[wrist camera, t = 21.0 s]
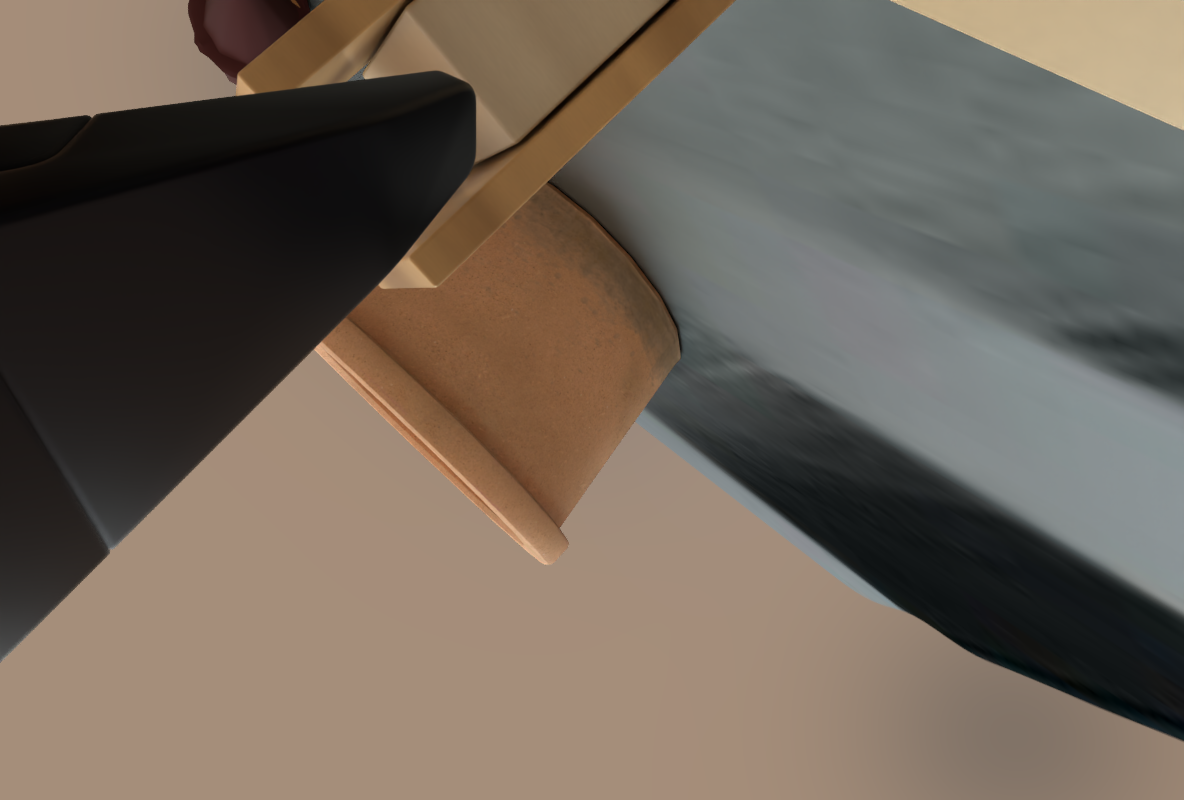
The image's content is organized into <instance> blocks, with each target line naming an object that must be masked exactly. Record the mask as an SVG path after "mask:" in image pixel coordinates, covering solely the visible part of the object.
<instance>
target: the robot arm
mask: <svg viewBox="0 0 1184 800" xmlns="http://www.w3.org/2000/svg"><path fill="white" fill-rule="evenodd" d="M475 158H476V95H475V92H474V89H473V88H472V86H471V85H470V84H469V83H467V82H465V81H463V80H461V79H458V78H456V77H454V76H452V75H450V74H447V73H445V72H442V71H437V70H435V71H426V72H418V73H410V74H403V75H395V76H387V77H379V78H372V79H364V80H356V81H348V82H341V83H333V84H325V85H317V86H310V87H302V88H294V89H286V90H279V91H271V92H263V93H255V94H248V95H240V96H232V97H225V98H217V99H209V100H202V101H193V102H186V103H178V104H170V105H162V106H155V107H148V108H139V109H132V110H124V111H116V112H108V113H100V114H96V115H95V116H94V117H93V118H91V117H90V116H87V115H84V116H76V117H68V118H61V119H54V120H45V121H36V122H27V123H18V124H10V125H1V126H0V662H1V661H2V660H4V659H5V657H6V656H8V654H10V653H11V652H12V651H13V650H14V648H16V647H17V646H18V645H19V644H20V643H21V642H22V641H23V639H24V638H26V636H28V635H29V634H30V633H31V631H33V630H34V629H35V628H36V627H37V626H38V624H40V623H41V622H42V621H43V620H44V619H45V618H46V617H47V616H48V615H49V614H50V612H52V610H53V609H55V608H56V607H57V606H58V605H59V603H61V601H63V599H65V598H66V597H67V596H68V595H69V594H70V593H71V592H72V591H73V590H74V589H75V588H76V587H77V586H78V584H80V583H81V582H82V581H83V580H84V579H85V578H86V577H87V576H88V575H89V574H90V573H91V572H92V571H93V570H94V569H95V568H96V567H97V565H99V564H100V563H101V562H102V561H103V560H104V559H105V558H106V557H107V556H108V555H109V553H110V549H114V548H115V547H116V546H117V545H118V544H119V543H120V542H121V541H122V540H123V539H124V538H125V537H126V536H127V535H128V534H129V533H130V532H131V531H132V530H133V529H134V528H135V527H136V526H137V525H138V524H139V523H140V522H141V521H142V520H143V519H144V518H145V517H146V516H147V515H148V514H149V513H150V512H151V511H152V510H153V509H154V508H155V507H156V506H157V505H158V504H159V503H160V502H161V501H162V500H163V499H164V498H165V497H166V496H167V495H168V494H169V493H170V492H171V491H172V490H173V489H174V488H175V487H176V486H177V485H178V484H179V483H180V482H181V481H182V480H183V479H184V478H185V477H186V476H187V475H188V474H189V473H190V472H191V471H192V470H193V469H194V468H195V467H196V466H197V465H198V464H199V463H200V462H201V461H202V460H203V459H204V458H205V457H206V456H207V455H208V454H209V453H210V452H211V451H212V450H213V449H214V448H215V447H216V446H217V445H218V444H219V443H220V442H221V441H222V440H223V439H224V438H225V437H226V436H227V435H228V434H229V433H230V432H231V431H232V430H233V429H234V428H235V427H236V426H237V425H238V424H239V423H240V422H241V421H242V420H243V419H244V418H245V417H246V416H247V415H248V414H249V413H250V412H251V411H252V410H253V409H254V408H255V407H256V406H257V405H258V404H259V403H260V402H261V401H262V400H263V399H264V398H265V397H266V396H267V395H269V393H271V392H272V391H273V389H274V388H276V386H278V384H279V383H280V382H281V381H283V380H284V379H285V378H286V377H287V376H288V375H289V374H290V372H291V371H293V370H294V369H295V367H297V366H298V365H299V364H300V363H301V362H302V361H303V359H305V358H306V357H307V356H308V354H310V353H311V351H312V350H314V349H315V348H316V347H317V346H318V345H319V344H320V343H321V342H322V341H323V340H324V339H325V338H326V337H327V336H328V335H329V334H330V333H331V332H332V331H333V330H334V329H335V328H336V327H337V326H338V325H339V324H340V323H341V322H342V321H343V320H344V319H345V318H346V317H347V316H348V315H349V314H350V313H351V312H352V311H353V310H354V309H355V308H356V307H357V306H358V305H359V304H360V303H361V302H362V301H363V300H364V299H365V298H366V297H367V296H368V295H369V294H370V293H371V292H372V291H373V290H374V289H375V288H376V287H377V286H378V285H379V284H380V283H381V282H382V281H383V279H384V278H385V277H386V276H387V275H388V274H389V273H390V272H391V271H392V270H393V269H394V267H395V266H396V265H397V264H398V263H399V262H400V260H401V259H402V258H403V257H404V256H405V255H406V253H407V252H408V251H409V250H410V248H411V247H412V246H413V245H414V243H415V242H416V241H417V240H418V238H419V237H420V236H421V235H422V233H423V232H424V231H425V230H426V228H427V227H428V226H429V224H430V223H431V222H432V221H433V219H434V218H435V217H436V216H437V214H438V213H439V212H440V211H441V209H442V208H443V207H444V206H445V204H446V203H447V202H448V201H449V199H450V198H451V197H452V196H453V194H454V193H455V192H456V191H457V189H458V188H459V187H460V186H461V184H462V183H463V182H464V181H465V179H466V178H467V177H468V175H469V174H470V172H471V170H472V168H473V165H474V162H475Z"/></svg>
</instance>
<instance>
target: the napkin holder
mask: <svg viewBox="0 0 1184 800" xmlns="http://www.w3.org/2000/svg"><path fill="white" fill-rule="evenodd" d="M735 1H736V0H324V1H323V2H322V3H321V4H319V5H318V6H317V7H316V8H315V9H313V10H312V11H311V12H310V13H309V14H308V15H306V16H305V17H304V18H303V19H302V20H300V21H299V22H298V23H297V24H296V25H294V26H293V27H292V28H291V29H290V30H288V31H287V32H286V33H285V34H284V35H283V36H281V37H280V38H279V39H278V40H277V41H275V42H274V43H273V44H272V45H271V46H269V47H268V48H267V49H266V50H265V51H263V52H262V53H261V54H260V55H259V56H257V57H256V58H255V59H254V60H253V61H252V62H250V63H249V64H248V65H247V66H246V67H244V68H243V69H242V70H241V71H240V72H239V73H238V75H237V87H236V88H237V89H236V96H240V95H248V94H255V93H263V92H271V91H279V90H286V89H294V88H302V87H310V86H317V85H325V84H333V83H341V82H347V81H348V80H349V79H350V78H351V77H352V76H354V75H355V74H356V73H357V72H358V71H359V70H360V69H362V68H363V67H364V66H365V65H366V64H367V63H369V64H368V66H367V67H366V69H365V70H364V72H363V76H364V78H365V79H372V78H379V77H387V76H395V75H403V74H410V73H418V72H426V71H435V70H437V71H442V72H445V73H447V74H450V75H452V76H454V77H456V78H458V79H461V80H463V81H465V82H467V83H469V84H470V85H471V86H472V88H473V89H474V92H475V95H476V158H475V162H474V165H473V168H472V170H471V172H470V174H469V175H468V177H467V178H466V179H465V181H464V182H463V183H462V184H461V186H460V187H459V188H458V189H457V191H456V192H455V193H454V194H453V196H452V197H451V198H450V199H449V201H448V202H447V203H446V204H445V206H444V207H443V208H442V209H441V211H440V212H439V213H438V214H437V216H436V217H435V218H434V219H433V221H432V222H431V223H430V224H429V226H428V227H427V228H426V230H425V231H424V232H423V233H422V235H421V236H420V237H419V238H418V240H417V241H416V242H415V243H414V245H413V246H412V247H411V248H410V250H409V251H408V252H407V253H406V255H405V256H404V257H403V258H402V259H401V260H400V262H399V263H398V264H397V265H396V266H395V267H394V269H393V270H392V271H391V272H390V273H389V274H388V275H387V276H386V277H385V278H384V279H383V281H382V282H381V283H380V284H379V286H380V287H381V288H383V289H398V288H435V287H438V286H440V285H441V284H442V283H443V282H444V281H445V280H446V279H447V278H448V277H449V276H450V275H451V274H452V273H453V272H454V271H455V270H456V269H457V268H458V267H459V266H460V265H461V264H462V263H463V262H465V261H466V260H467V259H468V258H469V257H470V256H471V255H472V254H473V253H474V252H475V251H476V250H477V249H478V248H479V247H480V246H481V245H482V244H483V243H484V242H485V241H486V240H487V239H488V238H489V237H490V236H492V235H493V234H494V233H495V232H496V231H497V230H498V229H499V228H500V227H501V226H502V225H503V224H504V223H505V222H506V221H507V220H508V219H509V218H510V217H511V216H512V215H513V214H514V213H515V212H516V211H517V210H519V209H520V208H521V207H522V206H523V205H524V204H525V203H526V202H527V201H528V200H529V199H530V198H531V197H532V196H533V195H534V194H535V193H536V192H537V191H538V190H539V189H540V188H541V187H542V186H543V185H544V184H546V183H547V182H548V181H549V180H550V179H551V178H552V177H553V176H554V175H555V174H556V173H557V172H558V171H559V170H560V169H561V168H562V167H563V166H564V165H565V164H566V163H567V162H568V161H569V160H570V159H571V158H573V157H574V156H575V155H576V154H577V153H578V152H579V151H580V150H581V149H582V148H583V147H584V146H585V145H586V144H587V143H588V142H589V141H590V140H591V139H592V138H593V137H594V136H595V135H596V134H597V133H598V132H600V131H601V130H602V129H603V128H604V127H605V126H606V125H607V124H608V123H609V122H610V121H611V120H612V119H613V118H614V117H615V116H616V115H617V114H618V113H619V112H620V111H621V110H622V109H623V108H624V107H625V106H627V105H628V104H629V103H630V102H631V101H632V100H633V99H634V98H635V97H636V96H637V95H638V94H639V93H640V92H641V91H642V90H643V89H644V88H645V87H646V86H647V85H648V84H649V83H650V82H651V81H652V80H654V79H655V78H656V77H657V76H658V75H659V74H660V73H661V72H662V71H663V70H664V69H665V68H666V67H667V66H668V65H669V64H670V63H671V62H672V61H673V60H674V59H675V58H676V57H677V56H678V55H679V54H681V53H682V52H683V51H684V50H685V49H686V48H687V47H688V46H689V45H690V44H691V43H692V42H693V41H694V40H695V39H696V38H697V37H698V36H699V35H700V34H701V33H702V32H703V31H704V30H705V29H706V28H708V27H709V26H710V25H711V24H712V23H713V22H714V21H715V20H716V19H717V18H718V17H719V16H720V15H721V14H722V13H723V12H724V11H725V10H726V9H727V8H728V7H729V6H730V5H731V4H732V3H733V2H735Z"/></svg>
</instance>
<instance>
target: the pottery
mask: <svg viewBox="0 0 1184 800" xmlns="http://www.w3.org/2000/svg"><path fill="white" fill-rule="evenodd" d="M314 350H315V351H316V352H317V353H318V354H319V355H320V356H321V357H322V358H323V359H324V360H326V362H327V363H328V364H329V365H330V366H331V367H332V368H333V369H334V370H336V372H337V373H338V374H339V375H340V376H341V377H342V378H343V379H344V380H345V381H346V382H348V384H349V385H350V386H351V387H352V388H353V389H355V390H356V391H357V392H358V393H359V394H360V395H361V396H362V397H363V398H364V399H365V400H366V401H367V402H368V403H369V404H370V405H371V406H372V407H373V408H374V409H375V410H376V411H377V412H378V413H379V414H380V415H381V416H382V417H383V418H384V419H385V420H386V421H387V422H388V423H390V424H391V425H392V426H393V427H394V428H395V429H396V430H397V431H398V432H399V433H400V434H401V435H402V436H403V437H404V438H405V439H406V440H407V441H408V442H409V443H410V444H411V445H412V446H413V447H415V448H416V449H417V450H418V451H419V452H420V453H421V454H422V455H423V456H424V457H425V458H426V459H427V460H428V461H429V462H430V463H431V464H432V465H433V466H435V467H436V468H437V469H438V470H439V471H440V472H441V473H442V474H443V475H444V476H445V477H446V478H447V479H448V480H449V481H451V482H452V483H453V484H454V485H455V486H456V487H457V488H458V489H459V490H460V491H461V492H462V493H463V494H464V495H465V496H466V497H468V498H469V499H470V500H471V501H472V502H473V503H474V504H475V505H476V506H477V507H478V508H480V509H481V510H482V511H483V512H484V513H485V514H486V515H487V516H488V517H489V518H490V519H491V520H493V521H494V522H495V523H496V524H497V525H498V526H499V527H500V528H501V529H503V530H504V531H505V532H506V533H507V534H508V535H509V536H510V537H511V538H512V539H514V540H515V541H516V542H517V543H518V544H519V545H520V546H521V547H523V548H524V549H525V550H526V551H527V552H529V553H530V554H531V555H532V556H533V557H535V558H536V559H537V560H538V561H539V562H541V563H543V564H545V565H550V564H552V563H554V562H555V561H556V560H557V559H558V557H560V555H561V554H562V553H563V552H564V551H565V550H566V549H567V548H568V545H569V542H568V540H567V539H566V537H565V536H564V534H563V533H562V531H561V530H560V527H561V525H562V524H563V523H564V521H565V520H566V518H567V517H568V515H569V514H570V513H571V511H572V510H573V508H574V507H575V505H576V504H577V503H578V501H579V500H580V498H581V497H582V495H583V494H584V493H585V491H586V490H587V488H588V487H589V485H590V484H591V483H592V481H593V480H594V478H595V477H596V476H597V474H598V473H599V471H600V470H601V469H602V467H603V466H604V464H605V463H606V462H607V460H608V459H609V457H610V456H611V454H612V453H613V452H614V450H615V449H616V447H617V446H618V444H619V443H620V442H621V440H622V439H623V437H624V436H625V435H626V433H627V432H628V430H629V429H630V427H631V426H632V424H633V423H634V422H635V420H636V419H637V418H638V416H639V415H640V413H641V412H642V410H643V409H644V408H645V406H646V405H647V403H648V402H649V401H650V399H651V398H652V396H653V395H654V393H655V392H656V391H657V389H658V388H659V386H660V385H661V383H662V382H663V381H664V379H665V378H666V376H667V375H668V374H669V372H670V371H671V369H672V368H673V367H674V365H675V364H676V363H677V362H678V361H679V360H680V359H681V356H680V347H679V340H678V332H677V328H676V326H675V324H674V322H673V320H672V318H671V316H670V314H669V312H668V310H667V308H666V306H665V304H664V302H663V301H662V299H661V297H660V295H659V294H658V292H657V291H656V290H655V288H654V287H653V286H652V284H651V283H650V282H649V280H648V279H647V278H646V276H645V275H644V274H643V272H642V271H641V270H640V268H639V267H638V266H637V264H636V263H635V262H634V260H633V259H632V258H631V256H630V255H629V254H628V253H627V252H626V251H625V250H624V249H623V248H622V247H621V246H620V245H619V244H618V243H617V242H616V241H615V240H614V239H613V238H612V237H611V236H610V235H609V234H608V232H607V231H606V230H605V229H604V228H603V227H602V226H601V225H600V224H599V223H598V222H597V221H596V220H595V219H594V218H593V217H592V216H590V215H589V214H588V213H587V212H586V211H584V210H583V209H582V208H581V207H579V206H578V205H577V204H576V203H574V202H573V201H572V200H571V199H569V198H568V197H567V196H566V195H564V194H563V193H562V192H561V191H560V190H558V189H557V188H556V187H555V186H553V185H551V184H549V183H548V182H547V183H546V184H544V185H543V186H542V187H541V188H540V189H539V190H538V191H537V192H536V193H535V194H534V195H533V196H532V197H531V198H530V199H529V200H528V201H527V202H526V203H525V204H524V205H523V206H522V207H521V208H520V209H519V210H517V211H516V212H515V213H514V214H513V215H512V216H511V217H510V218H509V219H508V220H507V221H506V222H505V223H504V224H503V225H502V226H501V227H500V228H499V229H498V230H497V231H496V232H495V233H494V234H493V235H492V236H490V237H489V238H488V239H487V240H486V241H485V242H484V243H483V244H482V245H481V246H480V247H479V248H478V249H477V250H476V251H475V252H474V253H473V254H472V255H471V256H470V257H469V258H468V259H467V260H466V261H465V262H463V263H462V264H461V265H460V266H459V267H458V268H457V269H456V270H455V271H454V272H453V273H452V274H451V275H450V276H449V277H448V278H447V279H446V280H445V281H444V282H443V283H442V284H441V285H440V286H438V287H435V288H398V289H383V288H381V287H380V286H379V285H378V286H377V287H376V288H375V289H374V290H373V291H372V292H371V293H370V294H369V295H368V296H367V297H366V298H365V299H364V300H363V301H362V302H361V303H360V304H359V305H358V306H357V307H356V308H355V309H354V310H353V311H352V312H351V313H350V314H349V315H348V316H347V317H346V318H345V319H344V320H343V321H342V322H341V323H340V324H339V325H338V326H337V327H336V328H335V329H334V330H333V331H332V332H331V333H330V334H329V335H328V336H327V337H326V338H325V339H324V340H323V341H322V342H321V343H320V344H319V345H318V346H317V347H316V348H315V349H314Z"/></svg>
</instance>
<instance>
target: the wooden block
mask: <svg viewBox="0 0 1184 800" xmlns="http://www.w3.org/2000/svg"><path fill="white" fill-rule="evenodd" d="M890 1H892V2H895V3H897V4H899V5H902V6H904V7H906V8H908V9H911V10H913V11H915V12H917V13H920V14H922V15H924V16H926V17H929V18H931V19H933V20H935V21H938V22H940V23H942V24H944V25H947V26H949V27H951V28H953V29H956V30H958V31H960V32H962V33H965V34H967V35H969V36H972V37H974V38H976V39H978V40H981V41H983V42H985V43H987V44H990V45H992V46H994V47H996V48H999V49H1001V50H1003V51H1005V52H1008V53H1010V54H1012V55H1014V56H1017V57H1019V58H1021V59H1023V60H1026V61H1028V62H1030V63H1033V64H1035V65H1037V66H1039V67H1042V68H1044V69H1046V70H1048V71H1051V72H1053V73H1055V74H1057V75H1060V76H1062V77H1064V78H1066V79H1069V80H1071V81H1073V82H1075V83H1078V84H1080V85H1082V86H1084V87H1087V88H1089V89H1091V90H1093V91H1096V92H1098V93H1100V94H1103V95H1105V96H1107V97H1109V98H1112V99H1114V100H1116V101H1118V102H1121V103H1123V104H1125V105H1127V106H1130V107H1132V108H1134V109H1136V110H1139V111H1141V112H1143V113H1145V114H1148V115H1150V116H1152V117H1154V118H1157V119H1159V120H1161V121H1163V122H1166V123H1168V124H1170V125H1173V126H1175V127H1177V128H1179V129H1182V130H1184V0H890Z"/></svg>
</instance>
